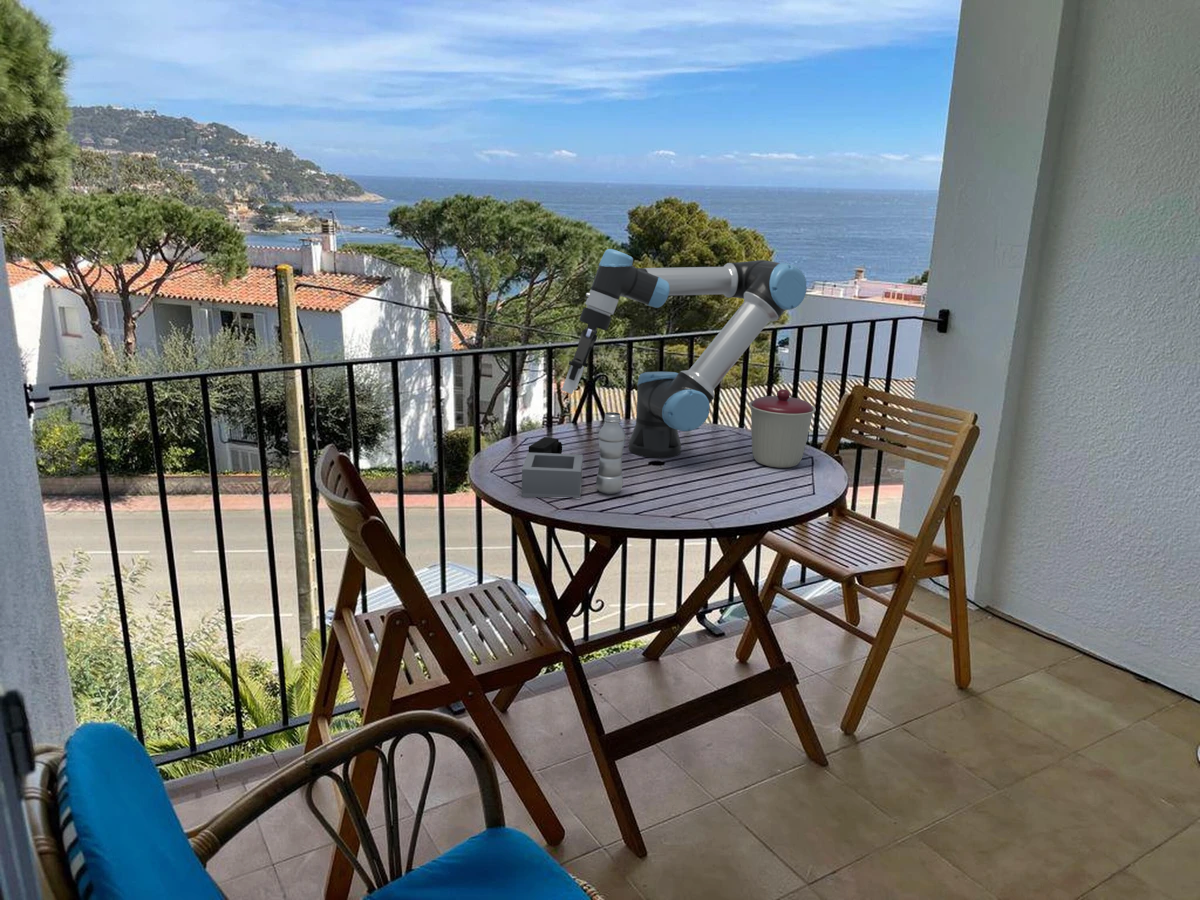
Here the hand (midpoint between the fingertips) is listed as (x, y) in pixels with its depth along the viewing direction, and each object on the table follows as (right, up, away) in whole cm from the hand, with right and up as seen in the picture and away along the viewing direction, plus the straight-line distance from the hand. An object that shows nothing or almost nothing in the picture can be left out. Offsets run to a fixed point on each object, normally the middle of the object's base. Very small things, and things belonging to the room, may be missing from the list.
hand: (568, 390), depth 216 cm
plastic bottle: (+10, -26, -7) cm, 29 cm away
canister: (+58, -19, +23) cm, 65 cm away
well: (-4, -25, -6) cm, 26 cm away
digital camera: (-7, -20, +11) cm, 24 cm away
